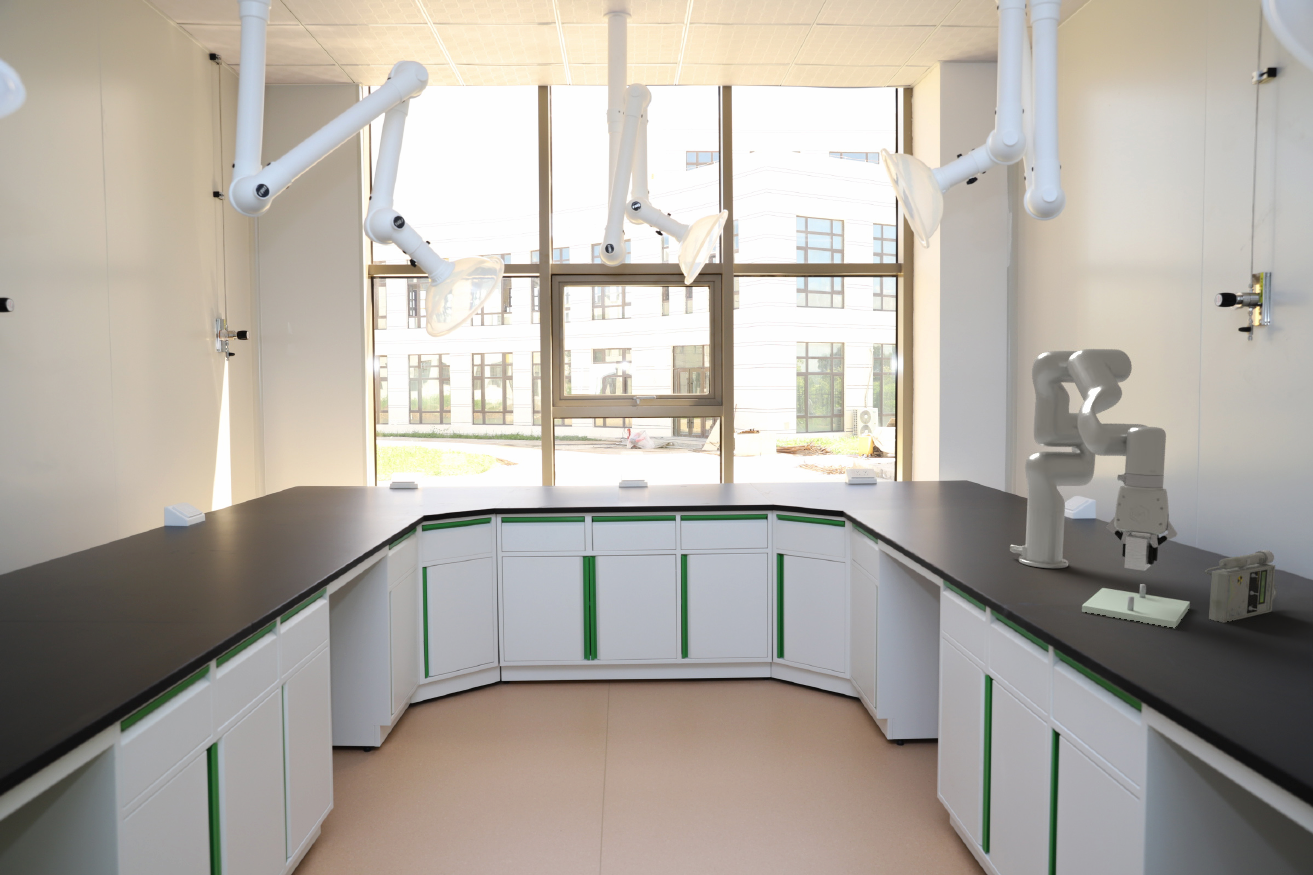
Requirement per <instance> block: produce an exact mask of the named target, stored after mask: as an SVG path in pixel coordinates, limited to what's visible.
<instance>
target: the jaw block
mask: <svg viewBox="0 0 1313 875" xmlns="http://www.w3.org/2000/svg"><path fill="white" fill-rule="evenodd" d="M1151 544H1152V543H1151V537H1150V534H1146V533H1138V532H1132V533H1131V534H1130V535H1128V536H1127V537H1126V549H1125V557H1124V569H1131V570H1135V571H1136V570H1137V571H1147V569H1149V568H1150V567H1151V566H1152V565H1149V564H1148V562H1149V547H1151Z"/></svg>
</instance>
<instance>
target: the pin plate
mask: <svg viewBox="0 0 1313 875" xmlns="http://www.w3.org/2000/svg"><path fill="white" fill-rule="evenodd" d="M1146 592H1147V584H1144V583H1142V584H1141V583H1140V584H1139V593H1137V592H1132V591H1124V590H1119V589H1111V588H1105V587H1102V588H1100V590H1098V591H1097V592H1096V593H1095V594H1094V595H1092V597H1090V598H1089V599H1088V600H1087V601H1085V602H1084V603H1083V604H1082V605H1081V612H1082V613H1085V612H1087V614H1091V613H1094V614H1093V615H1097V614H1100V615H1099V616H1102V615H1106V616H1105V617H1109V618H1113V617H1115V618H1114V619H1119V618H1121V619H1120V620H1124V619H1127V620H1126V621H1130V620H1134V621H1133V622H1136V621H1140V622H1139V623H1141V622H1143V623H1142V624H1147V623H1149V625H1152V624H1155V625H1154V626H1158V625H1161V626H1160V627H1164V626H1167V627H1166V628H1169V627H1173V628H1172V629H1176V628H1177V627H1178V625H1179V624H1180V622H1181V621H1182V620H1183V618H1184V617H1185V615H1186V614H1187V612H1188V611H1189V610H1190V603H1191V601H1187V600H1181V599H1175V598H1169V597H1162V596H1156V595H1152V594H1151V595H1150V594H1146ZM1188 609H1189V610H1188ZM1181 619H1182V620H1181ZM1176 626H1177V627H1176ZM1175 627H1176V628H1175Z"/></svg>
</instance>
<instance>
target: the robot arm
mask: <svg viewBox="0 0 1313 875" xmlns="http://www.w3.org/2000/svg"><path fill="white" fill-rule="evenodd" d="M1132 369H1133V367H1132V360H1131V358H1130V357H1129V355H1128V354H1127V353H1126V352H1124V350H1122V349H1115V348H1114V349H1113V348H1111V349H1109V348H1108V349H1107V348H1086V349H1081V350H1054V351H1053V350H1052V351H1045V352H1043V353H1041V354H1040V353H1039V355H1038V356H1037V357H1035V359H1034V362H1033V365H1032V369H1031V376H1032V377H1031V379H1032V384H1033V388H1034V393H1035V394H1034V395H1035V402H1034V418H1033V439H1034V442H1035V443H1036V444H1037V445H1039V446H1042V447H1047V448H1049V447H1050V448H1071V451H1038V452H1034V453H1032V454H1031V455H1029V456H1028V457H1027V459H1026V460H1025V465H1024V469H1025V476H1026V477H1025V478H1026V486H1027V503H1026V504H1027V505H1026V508H1027V509H1026V528H1025V530H1026V532H1025V544H1024V545H1023V544H1022V546H1021V545H1015V544H1010V546H1009V551H1010V552H1012V553H1014V554H1020V556H1019V557H1018V561H1019V563H1021V564H1023V565H1026V566H1031V567H1037V568H1042V569H1043V568H1044V569H1064V568H1068V566H1069V561H1068V560H1067V559H1065V558H1063V552H1064V532H1065V515H1066V514H1065V513H1066V509H1065V508H1066V504H1065V499H1064V497H1063V496H1062V494H1061V492H1060V491H1059V490H1058V488H1057V487H1081V486H1086V485H1088V484H1090V483H1091V481H1092V480H1093V477H1094V473H1095V466H1096V456H1103V457H1105V456H1107V457H1116V456H1117V457H1125V465H1124V466H1125V467H1124V473H1122V474H1117V481H1120V482H1122V483H1123V485H1121V486H1120V487H1119V489H1118V494H1117V499H1116V504H1115V505H1116V506H1115V512H1114V517H1113V518H1112V519H1111V520H1110V521H1109V523H1108V524H1106V526H1105V528H1106V529H1107V530H1108V531H1110V532H1111V533H1112V534H1113V535H1115V536H1116V538H1118V540H1120V542H1121V543H1122V558H1125V549H1126V537H1127V536H1128V535H1130V534H1131V533H1132V532H1138V533H1146V534H1150V537H1151V543H1152V544H1151V547H1149V562H1148V564H1149V565H1151V566H1152V565H1153V564H1155V562H1157V561H1158V556H1159V555H1158V553H1159V546H1161V545H1162V544H1164V543H1165V542H1166V541H1168V540H1171V539H1173V538H1176V537H1177V536H1178V531H1176V529H1175V527H1174V526H1173V525H1172V523H1171V521H1170V516H1169V499H1168V498H1169V497H1168V491H1167V489H1166V488H1164V479H1165V478H1164V477H1165V476H1164V475H1165V459H1166V441H1167V439H1166V438H1167V434H1166V431H1165V430H1164V429H1163V428H1161V427H1157V426H1148V425H1146V424H1140V423H1102V422H1101V421H1100V420H1099V418H1098V416H1097V415H1098V414H1101V413H1102V412H1105V411H1108V410H1109V409H1111V408H1113V407H1115V406H1116V405H1117V404H1118V403H1119V402H1120V400H1121V398H1122V396H1123V390H1122V388H1121V386H1120V384H1119V383H1123V382H1125V381H1127V380H1128V379H1129V377H1130V375H1131V373H1132ZM1062 383H1065V384H1066V383H1068V384H1070V383H1071V384H1072V383H1073V384H1075V386H1076V389H1077V390H1078V392H1079V394H1080V396H1081V398H1082V400H1083V402H1082V404H1081V406H1080V407H1079V410H1078V412H1070V395H1069V392H1068V390H1067V389H1066V387H1065V386H1064V385H1063V384H1062ZM1166 531H1167V533H1165V532H1166ZM1164 533H1165V534H1164ZM1162 534H1163V535H1162ZM1160 535H1161V536H1160Z"/></svg>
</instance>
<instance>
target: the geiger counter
mask: <svg viewBox="0 0 1313 875" xmlns="http://www.w3.org/2000/svg"><path fill="white" fill-rule="evenodd" d="M1274 560H1275V555H1274V553H1273V552H1272V551H1270V550H1267V549H1264V550H1263V549H1262V550H1258V551H1255V553H1249V554H1245V555H1244V554H1243V555H1238V556H1233V557H1232V556H1231V557H1227V558H1226V557H1225V558H1222V559H1220V560H1219V563H1218V564H1219V566H1214V567H1209V568H1207V569H1206V570H1205V571H1204V574H1205V575H1209V576H1211V584H1210V597H1209V612H1208V620H1210V619H1211V620H1210V621H1213V620H1214V622H1217V621H1219V622H1218V623H1223V624H1224V623H1228V622H1227V621H1229V622H1232V620H1233V621H1237V620H1241V619H1245V618H1250V617H1254V616H1258V615H1263V614H1267V613H1271V612H1273V600H1274V599H1276V598H1277V593H1278V591H1277V587H1276V584H1275V576H1276V575H1275V573H1276V572H1275V571H1276V564H1273V561H1274ZM1216 569H1217V570H1216ZM1212 570H1213V571H1212ZM1209 571H1211V572H1209Z"/></svg>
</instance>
